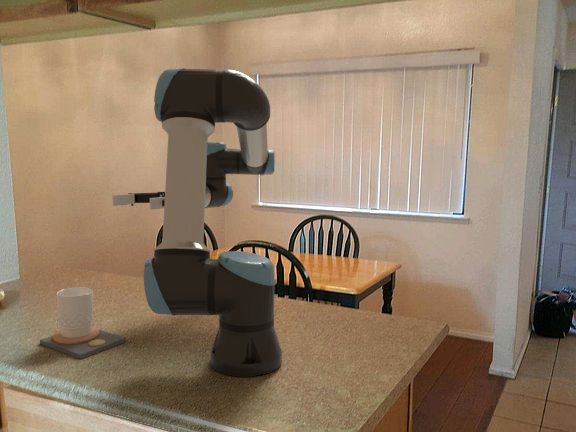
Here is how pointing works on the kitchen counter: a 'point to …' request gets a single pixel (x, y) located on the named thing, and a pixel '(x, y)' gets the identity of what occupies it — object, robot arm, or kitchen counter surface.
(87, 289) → the white cup
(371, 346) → the kitchen counter surface
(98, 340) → the board
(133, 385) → the kitchen counter surface
